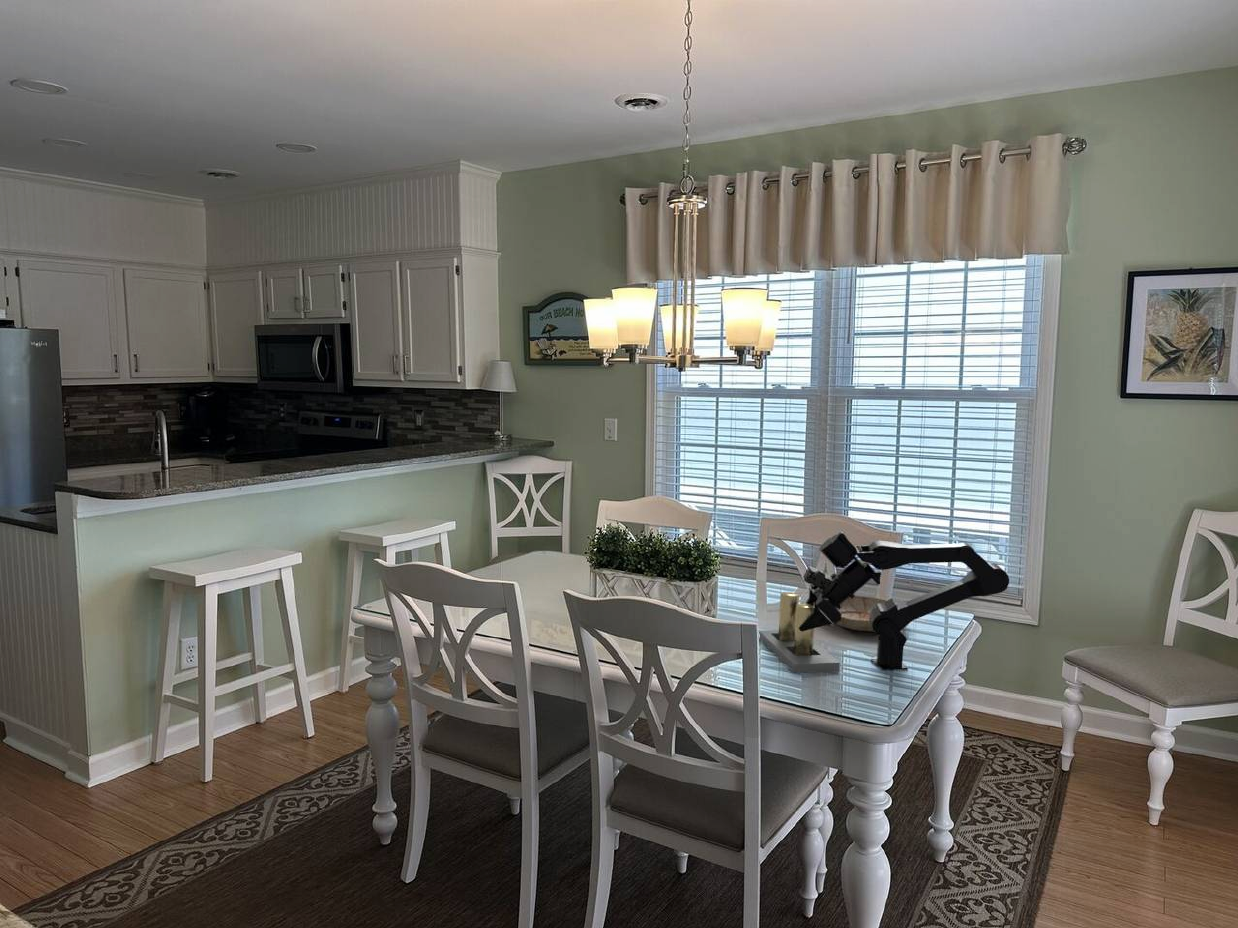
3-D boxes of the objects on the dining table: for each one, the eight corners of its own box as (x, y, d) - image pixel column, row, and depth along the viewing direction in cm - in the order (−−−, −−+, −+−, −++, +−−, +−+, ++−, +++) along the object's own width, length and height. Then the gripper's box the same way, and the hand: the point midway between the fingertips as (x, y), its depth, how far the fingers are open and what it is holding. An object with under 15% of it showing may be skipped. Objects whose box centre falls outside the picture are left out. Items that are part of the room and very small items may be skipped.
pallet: (839, 670, 197) (839, 662, 197) (794, 672, 195) (794, 664, 195) (799, 637, 221) (799, 629, 221) (758, 638, 219) (759, 630, 219)
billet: (798, 647, 213) (801, 596, 211) (781, 648, 212) (784, 597, 210) (792, 641, 217) (794, 591, 215) (775, 642, 216) (777, 592, 215)
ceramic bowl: (799, 617, 238) (800, 600, 238) (863, 608, 249) (864, 591, 248) (857, 643, 218) (859, 624, 217) (924, 631, 229) (926, 613, 228)
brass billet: (815, 661, 203) (818, 608, 201) (797, 662, 202) (800, 609, 200) (808, 655, 207) (811, 603, 206) (790, 656, 206) (793, 603, 205)
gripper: (821, 548, 210) (773, 588, 213) (829, 565, 192) (777, 610, 195) (852, 581, 210) (804, 621, 213) (863, 602, 192) (810, 646, 195)
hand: (798, 623), depth 204 cm, fingers open, 9 cm apart
